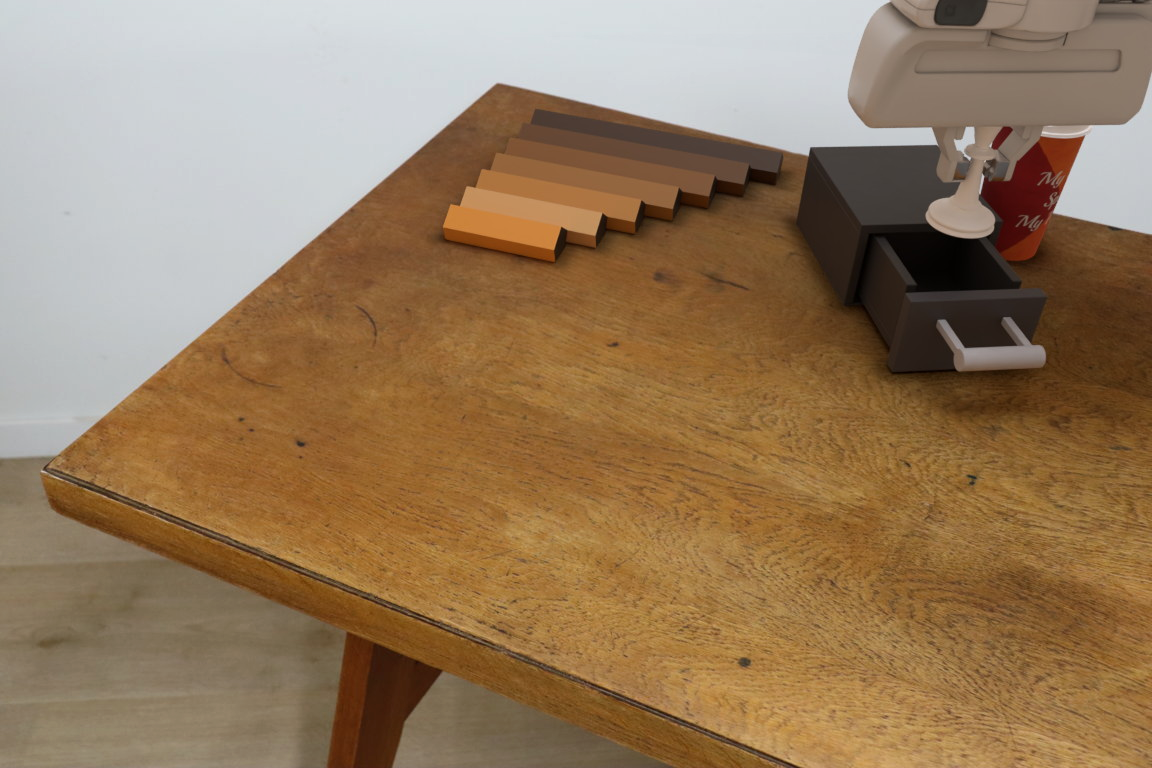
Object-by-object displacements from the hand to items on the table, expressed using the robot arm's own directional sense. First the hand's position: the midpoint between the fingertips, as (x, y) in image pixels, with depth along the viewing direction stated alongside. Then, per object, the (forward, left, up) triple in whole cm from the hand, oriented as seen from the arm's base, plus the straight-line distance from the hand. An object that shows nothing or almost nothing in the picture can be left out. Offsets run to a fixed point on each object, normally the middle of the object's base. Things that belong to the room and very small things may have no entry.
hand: (971, 178), depth 80 cm
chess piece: (0, 0, -4) cm, 4 cm away
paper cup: (-12, -12, -14) cm, 22 cm away
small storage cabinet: (0, -10, -14) cm, 17 cm away
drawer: (0, +2, -13) cm, 13 cm away
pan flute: (+21, -21, -14) cm, 33 cm away
